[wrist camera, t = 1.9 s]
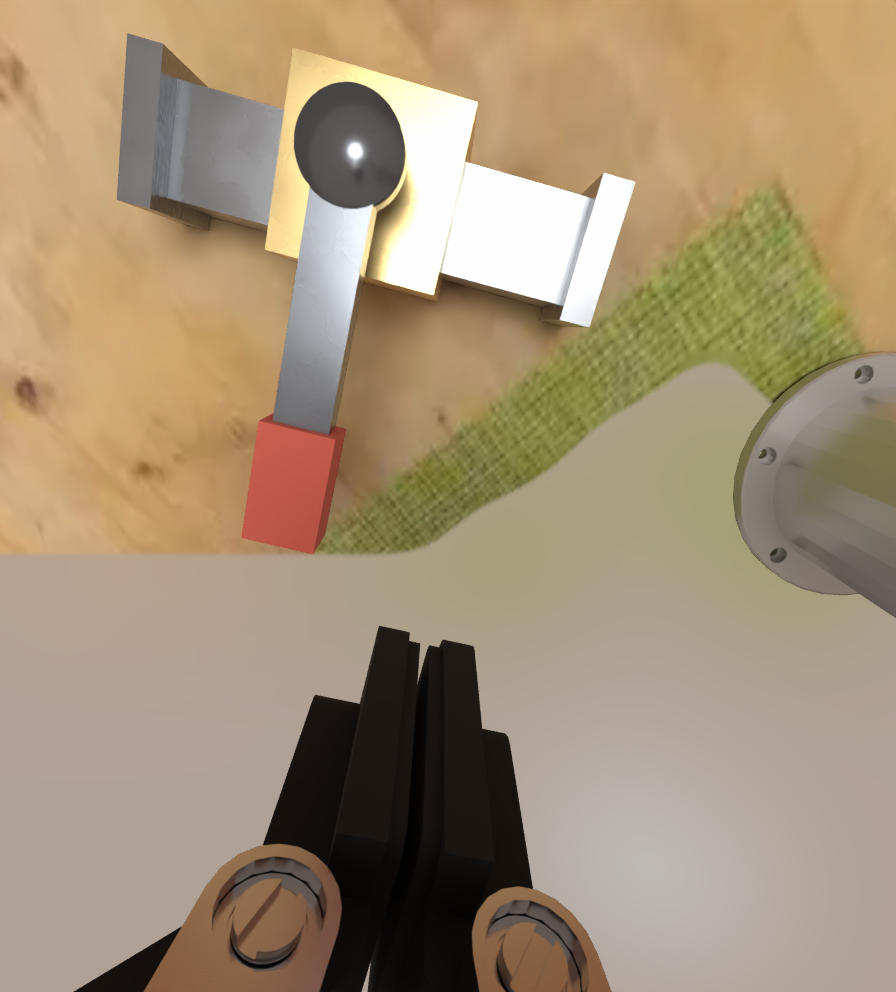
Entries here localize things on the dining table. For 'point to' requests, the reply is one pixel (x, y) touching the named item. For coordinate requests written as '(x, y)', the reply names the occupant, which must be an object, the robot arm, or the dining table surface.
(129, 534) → the dining table surface
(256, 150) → the valve pipe
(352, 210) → the valve lever
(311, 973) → the robot arm
